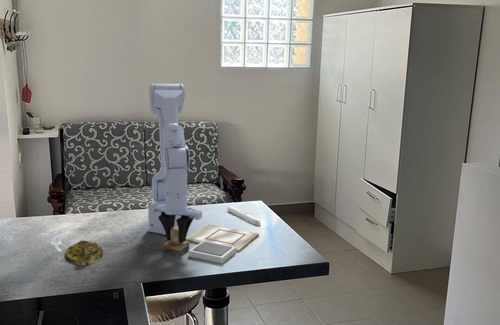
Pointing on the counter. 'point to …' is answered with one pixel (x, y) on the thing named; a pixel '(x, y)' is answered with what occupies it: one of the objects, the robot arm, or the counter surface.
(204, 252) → the ink pad
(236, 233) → the wooden board
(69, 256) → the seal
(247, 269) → the counter surface
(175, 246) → the stamp
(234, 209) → the marker
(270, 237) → the counter surface
